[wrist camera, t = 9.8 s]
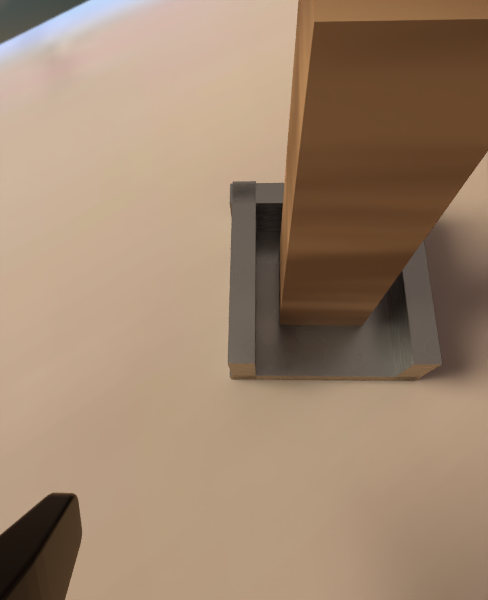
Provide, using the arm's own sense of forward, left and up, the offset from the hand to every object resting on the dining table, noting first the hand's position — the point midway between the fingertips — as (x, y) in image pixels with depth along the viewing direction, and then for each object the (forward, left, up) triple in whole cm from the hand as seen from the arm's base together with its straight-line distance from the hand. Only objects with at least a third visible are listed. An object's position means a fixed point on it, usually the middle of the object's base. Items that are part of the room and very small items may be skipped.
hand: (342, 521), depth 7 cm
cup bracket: (+2, -8, -11) cm, 14 cm away
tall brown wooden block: (+2, -8, -10) cm, 13 cm away
